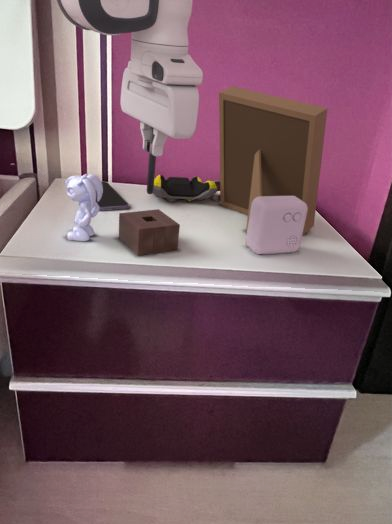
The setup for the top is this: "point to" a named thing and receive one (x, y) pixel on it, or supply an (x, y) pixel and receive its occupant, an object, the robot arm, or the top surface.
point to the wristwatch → (217, 197)
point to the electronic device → (276, 224)
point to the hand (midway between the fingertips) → (152, 153)
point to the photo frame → (269, 149)
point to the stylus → (151, 167)
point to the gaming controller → (183, 188)
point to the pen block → (148, 232)
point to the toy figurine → (84, 203)
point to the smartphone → (110, 199)
